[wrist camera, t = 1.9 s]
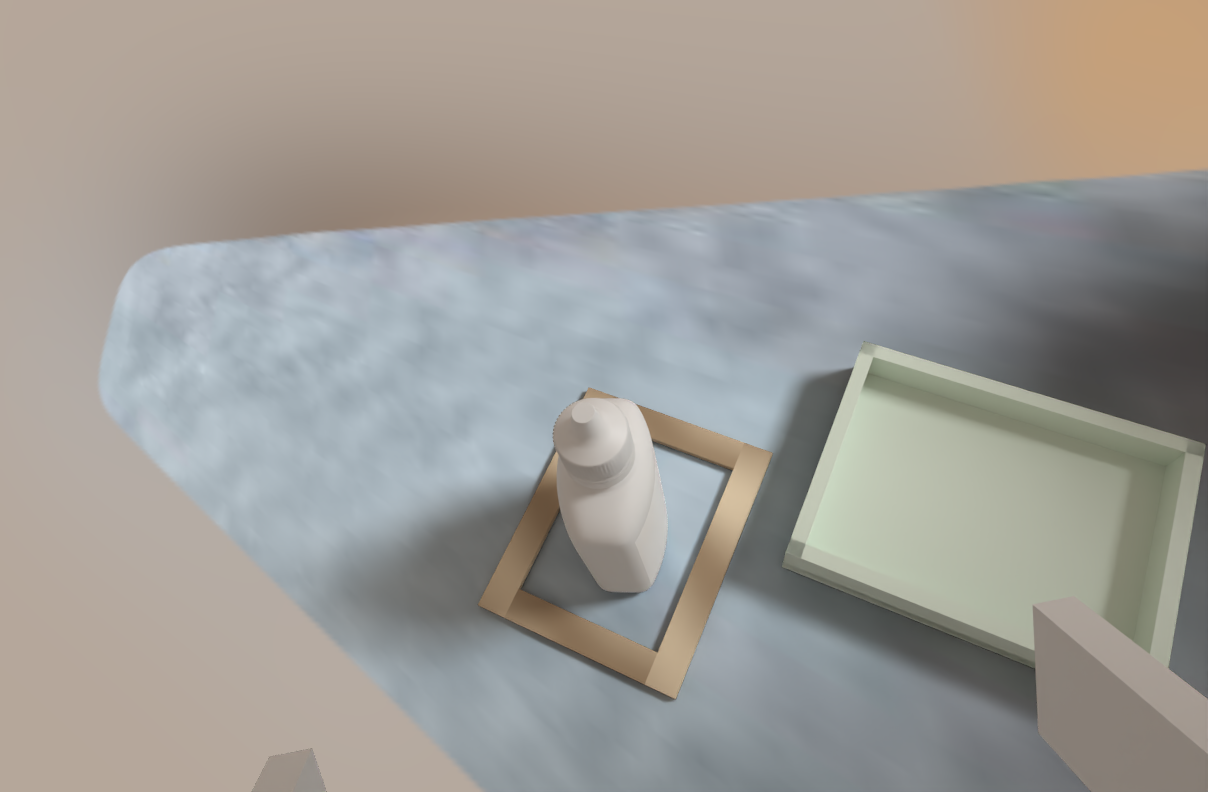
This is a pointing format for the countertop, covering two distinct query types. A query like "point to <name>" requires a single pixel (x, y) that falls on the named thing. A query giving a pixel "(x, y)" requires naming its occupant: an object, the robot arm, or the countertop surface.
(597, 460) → the eye dropper bottle
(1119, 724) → the robot arm
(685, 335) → the countertop surface
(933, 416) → the tray
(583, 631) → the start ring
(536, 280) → the countertop surface
